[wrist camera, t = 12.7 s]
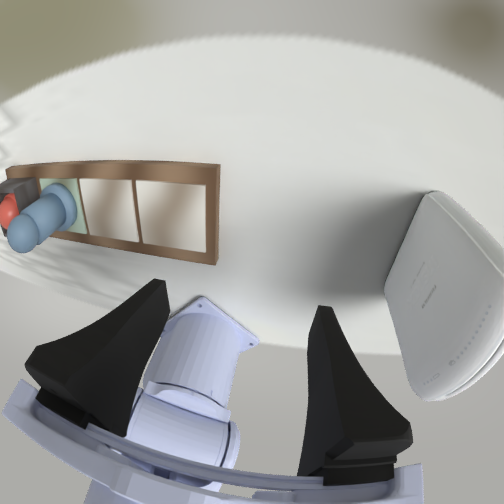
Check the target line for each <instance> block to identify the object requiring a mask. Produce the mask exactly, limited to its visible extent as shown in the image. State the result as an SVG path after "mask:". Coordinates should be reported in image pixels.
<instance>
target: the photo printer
mask: <svg viewBox="0 0 504 504" xmlns="http://www.w3.org/2000/svg"><path fill="white" fill-rule="evenodd" d="M384 294H385V297H386V300H387V304H388V307H389V310H390V314H391V317H392V320H393V324H394V327H395V331H396V334H397V338H398V342H399V346H400V349H401V353H402V357H403V361H404V366H405V369H406V374H407V378H408V381H409V383H410V386H411V388H412V389H413V391H414V392H415V393H416V395H417V396H419V397H420V398H421V399H423V400H424V401H432V400H436V401H441V400H444V399H447V398H450V397H452V396H454V395H456V394H458V393H460V392H462V391H464V390H465V389H467V388H468V387H470V386H471V385H473V384H474V383H475V382H476V381H478V380H479V379H480V378H481V377H482V376H483V375H485V374H486V373H487V372H488V371H489V369H491V368H492V366H493V365H494V364H495V363H496V362H497V361H498V360H499V358H500V357H501V356H502V354H503V353H504V248H503V247H502V246H501V244H500V243H499V242H498V241H497V240H496V239H495V238H494V237H493V236H492V235H491V234H490V233H489V232H488V231H487V230H486V229H485V228H484V227H483V226H482V225H481V224H480V223H479V222H478V221H477V220H476V219H475V218H474V217H473V216H472V215H471V214H470V213H469V212H468V211H466V210H465V209H464V208H463V207H462V206H461V205H460V204H459V203H457V202H456V201H455V200H454V199H453V198H452V197H450V196H449V195H448V194H446V193H444V192H440V191H436V192H431V193H429V194H425V196H424V197H423V199H422V201H421V203H420V204H419V207H418V209H417V211H416V213H415V216H414V218H413V220H412V222H411V225H410V227H409V229H408V232H407V234H406V236H405V239H404V241H403V243H402V245H401V248H400V250H399V252H398V254H397V257H396V259H395V261H394V263H393V266H392V268H391V270H390V272H389V275H388V277H387V280H386V283H385V286H384Z"/></svg>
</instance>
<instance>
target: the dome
mask: <svg viewBox="0 0 504 504" xmlns="http://www.w3.org/2000/svg"><path fill="white" fill-rule="evenodd" d="M18 215H19V211H18V207H17V203H16V199H15V195H14V193H9V194H8V195H6V196H5V197H4V200H3V201H2V202H1V204H0V224H1V225H2V227H4V228H5V229H8V226H9V224H10V222H11V221H12V219H13V218H15V217H16V216H18Z"/></svg>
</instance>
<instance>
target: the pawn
mask: <svg viewBox="0 0 504 504" xmlns="http://www.w3.org/2000/svg"><path fill="white" fill-rule="evenodd" d="M76 219H77V205H76V201H75V199H74V197H73V195H72V193H71V192H70V190H69V189H68V188H67V187H66V186H64V185H63V184H61V183H52V184H51V185H49V186H47V187H46V188H44V189H43V190H42V192H41V194H40V199H38V200H37V201H35V202H34V203H32V204H31V205H29V206H28V207H27V208H25V209H24V210H22V211H21V213H20V215H18V216H16V217H15V218H13V219H12V221H11V222H10V224H9V226H8V229H7V239H8V242H9V245H10V246H11V248H12V249H13V250H15V251H16V252H18V253H27V252H29V251H31V250H32V249H33V248H34V247H35V246H36V245H39V244H41V243H42V242H43V241H44V240H45V239H46V238H48V237H49V236H50V235H51V234H52V233H54V232H55V231H56V230H57V231H65V230H67V229H68V228H69V227H70V226H72V225H73V224H74V223H75V221H76Z"/></svg>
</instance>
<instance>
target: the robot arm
mask: <svg viewBox="0 0 504 504" xmlns="http://www.w3.org/2000/svg"><path fill="white" fill-rule="evenodd" d="M200 304H201V305H200ZM169 313H170V306H169V301H168V295H167V289H166V282H165V281H164V280H159V279H153V280H151V281H150V282H149V283H148V284H146V285H145V286H144V287H143V288H141V289H140V290H139V291H138V292H136V293H135V294H134V295H133V296H131V297H130V298H129V299H127V300H126V301H125V302H124V303H122V304H121V305H120V306H118V307H117V308H115V309H114V310H113V311H111V312H110V313H108V314H107V315H105V316H104V317H102V318H101V319H99V320H97V321H96V322H94V323H92V324H91V325H89V326H87V327H85V328H83V329H81V330H79V331H77V332H75V333H73V334H71V335H68V336H66V337H63V338H61V339H58V340H56V341H52V342H49V343H46V344H42V345H39V346H36V348H35V349H34V351H33V352H32V354H31V355H30V357H29V358H28V360H27V361H26V363H25V368H26V370H27V371H28V373H29V374H30V375H31V376H32V377H33V379H34V380H35V381H36V382H37V383H38V384H39V385H40V386H41V389H40V390H39V391H38V390H37V389H36V388H34V387H33V386H32V385H30V384H29V383H27V382H26V381H24V380H23V379H20V381H19V382H18V384H17V386H16V387H15V389H14V391H13V393H12V394H11V396H10V398H9V400H8V402H7V403H6V405H5V407H4V409H3V411H2V415H3V416H5V417H6V418H7V419H8V420H9V421H10V422H11V423H13V424H14V425H15V426H16V427H17V428H19V429H20V430H21V431H22V432H23V433H25V434H26V435H27V436H28V437H30V438H31V439H32V440H33V441H35V442H36V443H38V444H39V445H40V446H41V447H43V448H44V449H45V450H47V451H48V452H50V453H51V454H52V455H54V456H55V457H57V458H59V459H60V460H61V461H63V462H64V463H66V464H68V465H69V466H71V467H72V468H74V469H76V470H77V471H79V472H81V473H82V474H84V475H86V476H88V477H89V478H91V479H92V482H91V484H90V487H89V490H88V492H87V495H86V498H85V501H84V504H424V494H423V493H424V492H423V471H422V464H421V463H419V464H414V465H409V466H403V467H398V468H395V469H394V463H396V461H397V456H396V455H397V454H399V453H400V452H402V451H404V450H405V449H407V448H409V447H410V446H411V445H412V443H413V436H412V430H411V425H410V422H409V421H408V420H407V419H405V418H404V417H403V416H402V415H401V414H400V413H399V412H398V411H397V410H395V409H394V407H393V406H392V405H391V404H390V403H389V402H388V401H387V400H386V399H385V398H384V396H383V395H382V394H381V393H380V392H379V390H378V389H377V388H376V387H375V386H374V384H373V383H372V382H371V380H370V379H369V377H368V376H367V375H366V373H365V371H364V370H363V368H362V367H361V365H360V364H359V362H358V360H357V359H356V357H355V355H354V353H353V351H352V350H351V348H350V346H349V344H348V342H347V340H346V338H345V336H344V334H343V332H342V329H341V327H340V325H339V323H338V320H337V318H336V316H335V313H334V311H333V309H332V307H329V306H321V305H318V308H317V311H316V314H315V317H314V320H313V323H312V326H311V329H310V332H309V337H308V350H307V362H308V395H309V396H308V410H307V419H306V427H305V435H304V441H303V447H302V453H301V458H300V464H299V468H298V473H297V476H284V475H272V474H262V473H254V472H247V471H240V470H234V469H233V467H234V464H235V462H236V459H237V456H238V451H239V446H240V432H239V430H238V428H237V425H236V423H234V422H233V421H230V420H229V418H230V414H231V411H230V410H227V409H226V408H227V404H228V399H229V395H230V391H231V386H232V382H233V378H234V373H235V369H236V365H237V359H238V356H239V353H241V352H243V351H246V350H248V349H250V348H252V347H254V346H256V345H258V344H259V339H258V338H257V337H255V336H254V335H253V334H251V333H250V332H249V331H247V330H246V329H245V328H243V327H242V326H241V325H240V324H238V323H237V322H236V321H234V320H233V319H232V318H231V317H229V316H228V315H227V314H225V313H224V312H223V311H222V310H220V309H219V308H218V307H217V306H215V305H214V304H213V303H212V302H210V301H209V300H208V299H207V298H205V297H200V298H198V299H197V300H196V301H194V302H193V303H192V304H190V305H189V306H187V307H186V308H185V309H183V310H182V311H181V312H179V313H178V314H176V315H175V316H174V317H172V318H171V319H170V320H168V321H167V319H168V316H169ZM160 337H161V339H160V341H159V343H158V346H157V348H156V350H155V352H154V354H153V356H152V359H151V361H150V363H149V365H148V367H147V370H146V372H145V374H144V379H143V387H144V389H142V388H140V387H138V385H139V383H140V380H141V377H142V374H143V371H144V369H145V366H146V364H147V362H148V359H149V358H150V356H151V353H152V352H153V350H154V348H155V345H156V344H157V342H158V340H159V338H160ZM222 483H224V484H230V485H236V486H243V487H249V488H257V489H267V490H279V491H256V492H255V494H254V495H253V496H252V498H246V497H240V496H234V495H229V494H224V493H219V492H218V491H219V489H220V487H221V485H222ZM286 491H292V492H286Z"/></svg>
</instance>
